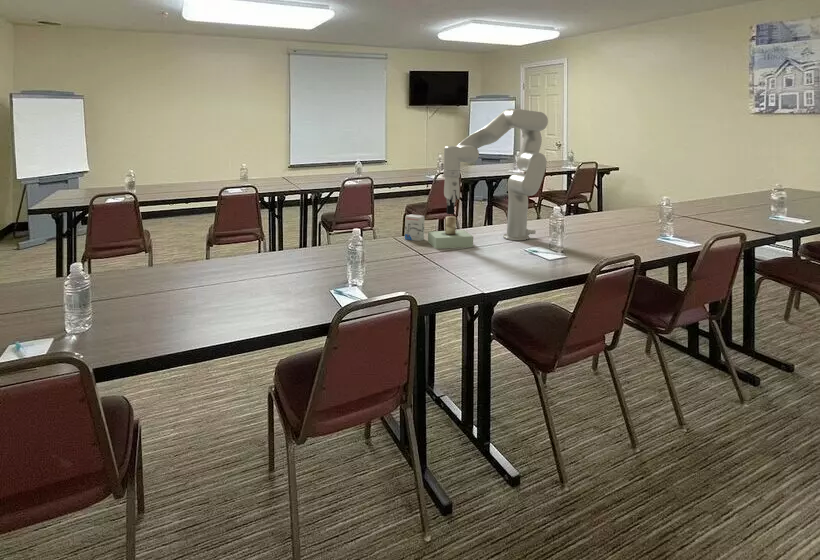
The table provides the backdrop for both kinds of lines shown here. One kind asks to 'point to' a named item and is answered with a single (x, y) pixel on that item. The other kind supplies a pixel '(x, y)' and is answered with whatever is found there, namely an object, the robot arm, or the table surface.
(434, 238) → the board
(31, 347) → the table surface
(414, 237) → the ink box
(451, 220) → the peg
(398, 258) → the table surface
